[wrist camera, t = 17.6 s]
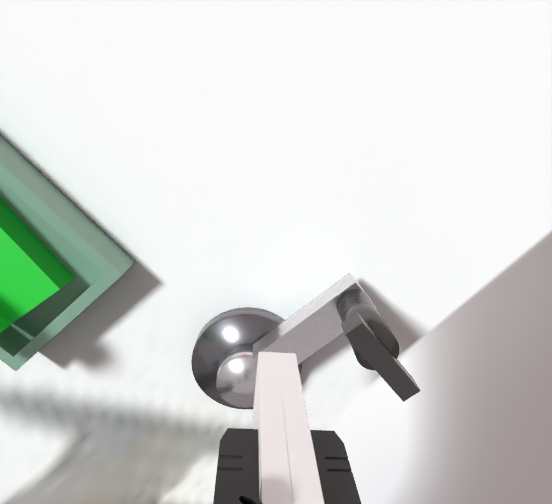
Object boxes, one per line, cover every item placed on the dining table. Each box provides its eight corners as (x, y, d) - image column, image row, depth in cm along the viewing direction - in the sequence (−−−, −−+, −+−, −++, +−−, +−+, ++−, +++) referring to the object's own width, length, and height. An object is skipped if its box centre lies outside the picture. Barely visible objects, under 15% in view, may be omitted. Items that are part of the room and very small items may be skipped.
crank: (248, 404, 28) (243, 504, 20) (202, 361, 27) (179, 452, 19) (382, 309, 26) (430, 384, 18) (339, 257, 24) (373, 314, 17)
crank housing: (244, 415, 30) (243, 427, 29) (172, 351, 28) (167, 362, 27) (321, 358, 29) (324, 368, 27) (251, 286, 27) (251, 294, 25)
